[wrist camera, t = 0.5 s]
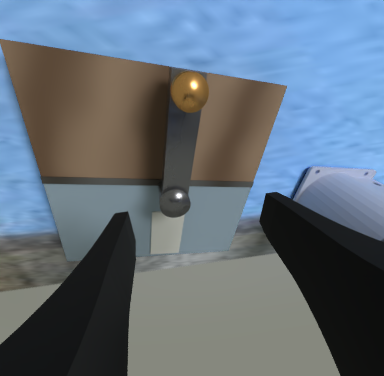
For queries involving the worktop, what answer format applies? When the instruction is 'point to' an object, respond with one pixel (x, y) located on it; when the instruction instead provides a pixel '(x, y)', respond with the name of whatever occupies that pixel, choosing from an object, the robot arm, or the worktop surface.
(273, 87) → the jamb board
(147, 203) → the door leaf
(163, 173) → the lock bar
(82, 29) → the worktop surface
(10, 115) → the worktop surface
